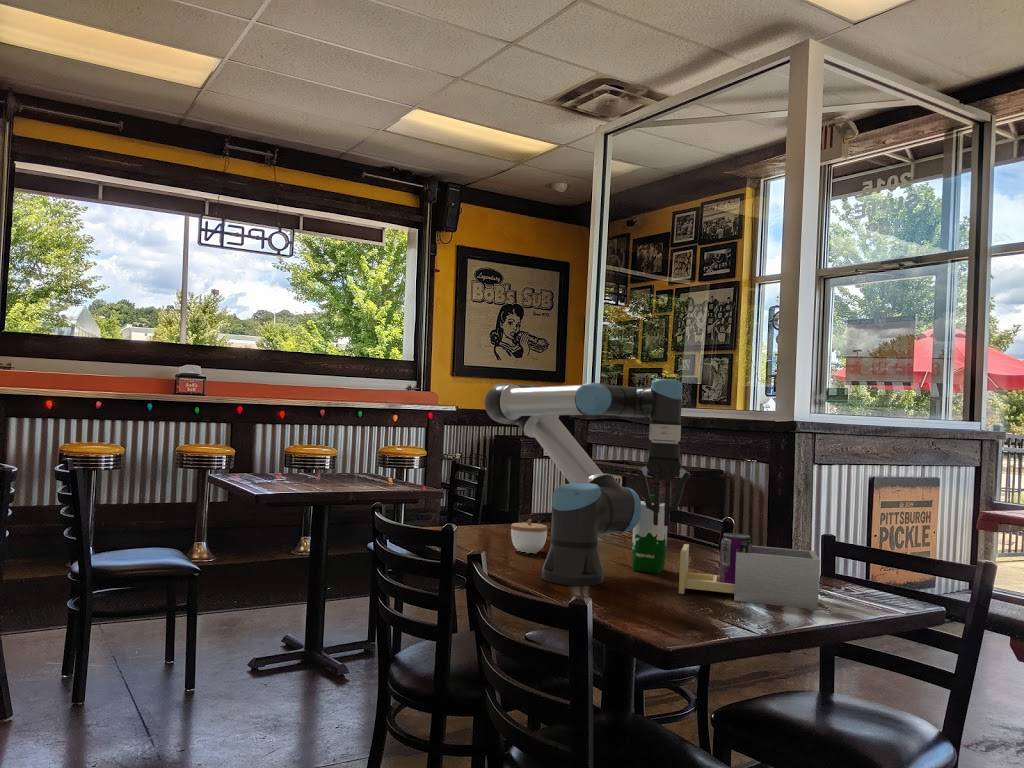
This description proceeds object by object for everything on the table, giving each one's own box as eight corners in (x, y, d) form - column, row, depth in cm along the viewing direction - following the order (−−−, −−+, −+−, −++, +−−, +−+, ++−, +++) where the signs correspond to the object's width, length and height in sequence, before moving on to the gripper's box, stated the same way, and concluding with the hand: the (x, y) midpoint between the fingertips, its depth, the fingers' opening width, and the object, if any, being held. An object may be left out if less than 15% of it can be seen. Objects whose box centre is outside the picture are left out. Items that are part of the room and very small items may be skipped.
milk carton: (667, 569, 221) (670, 495, 221) (660, 574, 212) (664, 498, 213) (635, 565, 224) (639, 493, 225) (628, 570, 216) (631, 495, 216)
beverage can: (751, 590, 188) (753, 538, 188) (720, 587, 189) (722, 535, 190) (748, 584, 195) (750, 534, 195) (718, 581, 196) (720, 531, 197)
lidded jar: (507, 548, 242) (509, 516, 243) (543, 549, 243) (544, 518, 244) (511, 554, 232) (513, 521, 232) (548, 555, 233) (550, 522, 233)
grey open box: (734, 600, 185) (736, 552, 186) (734, 589, 198) (736, 544, 199) (817, 609, 180) (819, 560, 181) (812, 597, 194) (814, 551, 194)
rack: (678, 593, 189) (680, 551, 189) (682, 582, 202) (684, 543, 202) (759, 602, 184) (761, 559, 184) (757, 590, 197) (759, 550, 197)
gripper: (636, 441, 196) (631, 539, 195) (690, 443, 193) (687, 543, 192) (639, 440, 203) (635, 535, 202) (692, 443, 200) (688, 539, 199)
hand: (660, 539), depth 197 cm, fingers closed
